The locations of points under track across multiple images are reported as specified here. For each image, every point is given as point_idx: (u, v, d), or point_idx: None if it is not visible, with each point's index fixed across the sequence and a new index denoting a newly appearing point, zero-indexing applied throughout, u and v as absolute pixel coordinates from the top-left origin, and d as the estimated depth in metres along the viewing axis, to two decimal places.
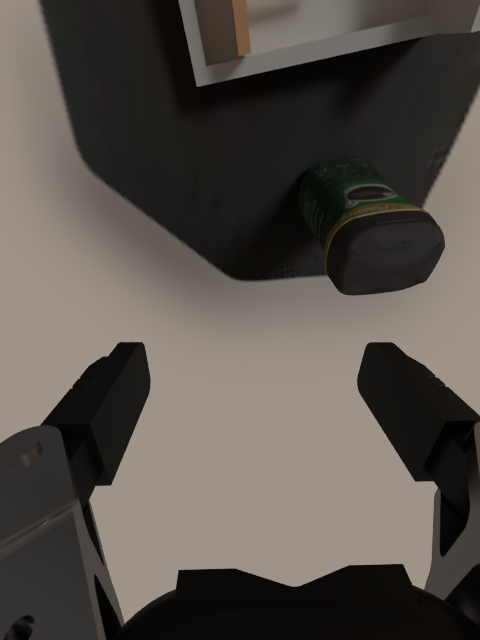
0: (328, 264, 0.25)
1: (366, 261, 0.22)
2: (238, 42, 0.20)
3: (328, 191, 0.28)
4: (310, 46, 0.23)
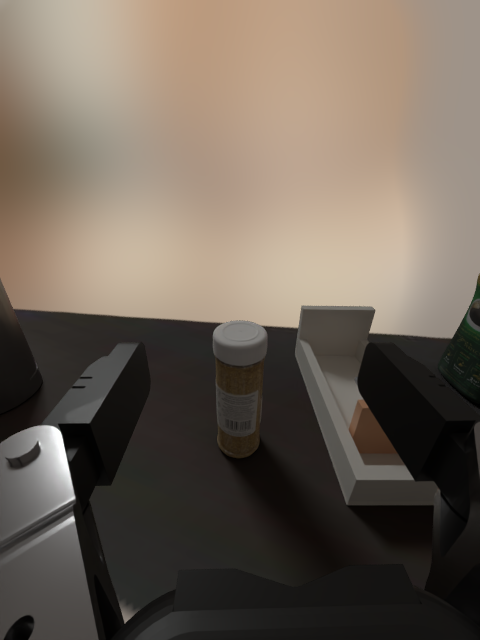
0: None
1: None
2: None
3: None
4: None
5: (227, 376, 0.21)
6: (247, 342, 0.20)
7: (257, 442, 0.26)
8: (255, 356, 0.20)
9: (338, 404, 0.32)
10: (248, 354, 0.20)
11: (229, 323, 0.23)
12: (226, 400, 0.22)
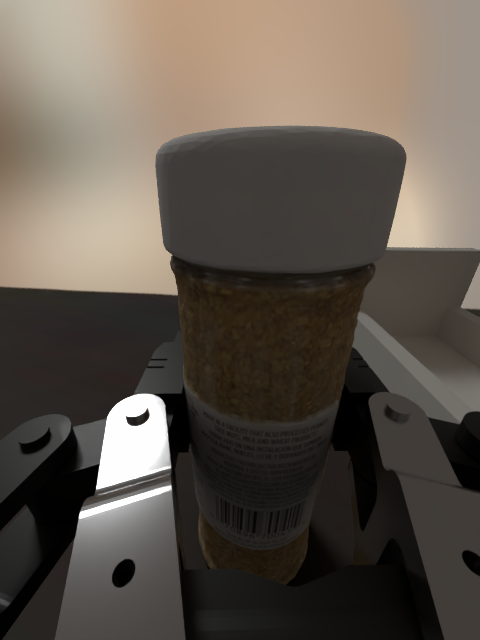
0: None
1: None
2: None
3: None
4: None
5: (222, 341, 0.05)
6: (335, 130, 0.03)
7: (306, 540, 0.10)
8: (371, 221, 0.04)
9: None
10: (343, 193, 0.03)
11: None
12: (219, 441, 0.06)
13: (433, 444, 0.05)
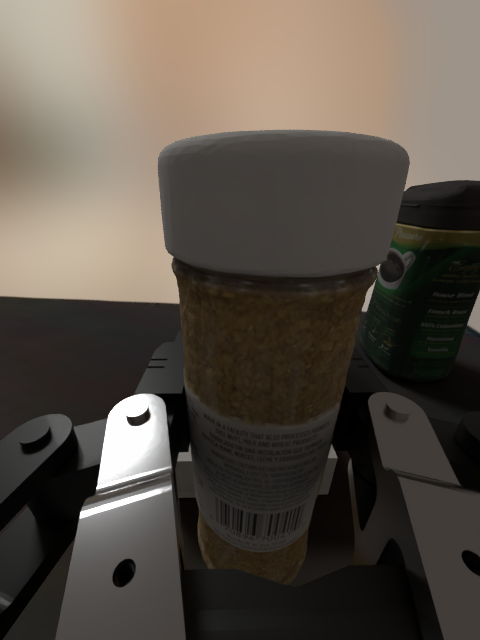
0: None
1: (460, 184, 0.20)
2: None
3: (404, 308, 0.24)
4: None
5: (223, 344, 0.05)
6: (338, 134, 0.03)
7: (305, 542, 0.10)
8: (374, 225, 0.04)
9: None
10: (347, 198, 0.03)
11: None
12: (220, 443, 0.06)
13: (432, 444, 0.05)
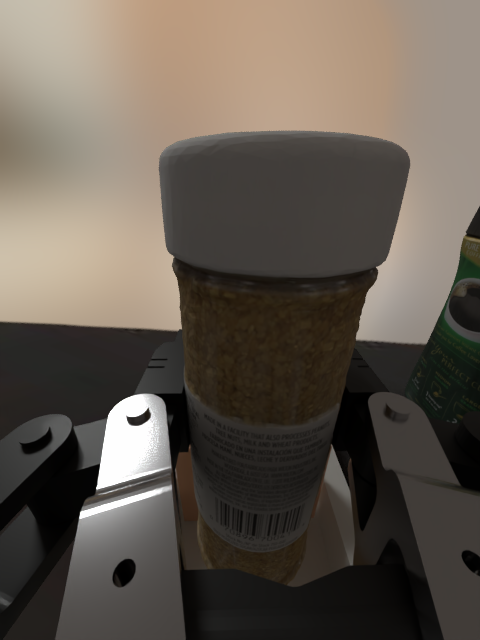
0: None
1: None
2: None
3: None
4: None
5: (224, 344, 0.05)
6: (340, 135, 0.03)
7: (304, 542, 0.10)
8: (375, 226, 0.04)
9: None
10: (348, 199, 0.03)
11: None
12: (220, 444, 0.06)
13: (432, 444, 0.05)
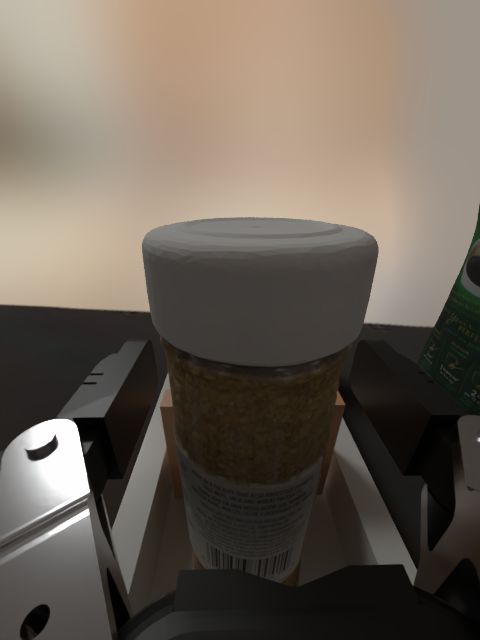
0: None
1: None
2: None
3: None
4: None
5: (207, 414, 0.05)
6: (307, 240, 0.04)
7: (297, 572, 0.10)
8: (343, 317, 0.04)
9: None
10: (315, 302, 0.04)
11: None
12: (208, 497, 0.06)
13: None
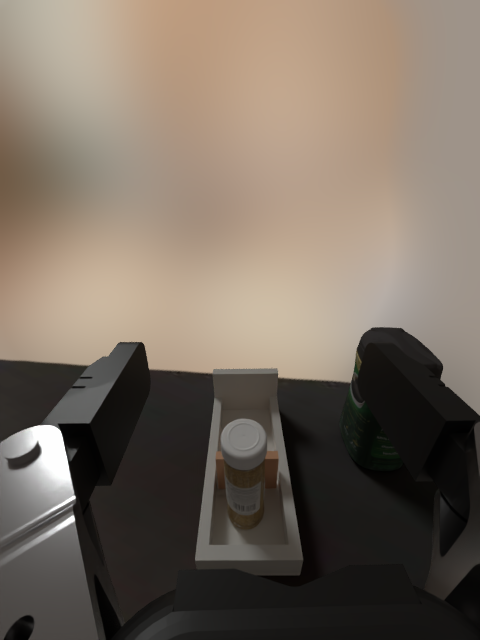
0: None
1: None
2: (272, 458, 0.30)
3: (365, 424, 0.33)
4: (278, 456, 0.34)
5: (234, 474, 0.25)
6: (250, 452, 0.23)
7: (262, 513, 0.30)
8: (257, 462, 0.24)
9: None
10: (251, 462, 0.23)
11: (234, 424, 0.26)
12: (233, 490, 0.26)
13: None
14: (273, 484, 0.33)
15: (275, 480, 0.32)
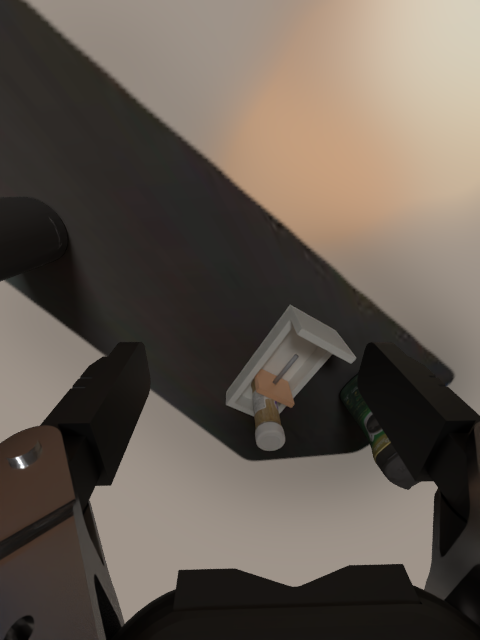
0: None
1: (401, 478, 0.37)
2: (288, 405, 0.46)
3: (357, 420, 0.46)
4: (298, 386, 0.48)
5: None
6: (267, 449, 0.40)
7: None
8: None
9: (268, 361, 0.49)
10: None
11: (270, 434, 0.39)
12: None
13: None
14: None
15: None
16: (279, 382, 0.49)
